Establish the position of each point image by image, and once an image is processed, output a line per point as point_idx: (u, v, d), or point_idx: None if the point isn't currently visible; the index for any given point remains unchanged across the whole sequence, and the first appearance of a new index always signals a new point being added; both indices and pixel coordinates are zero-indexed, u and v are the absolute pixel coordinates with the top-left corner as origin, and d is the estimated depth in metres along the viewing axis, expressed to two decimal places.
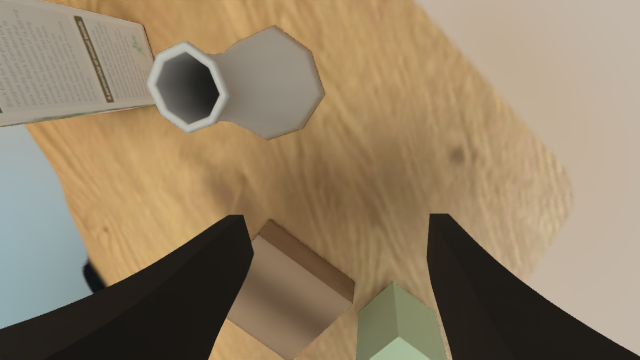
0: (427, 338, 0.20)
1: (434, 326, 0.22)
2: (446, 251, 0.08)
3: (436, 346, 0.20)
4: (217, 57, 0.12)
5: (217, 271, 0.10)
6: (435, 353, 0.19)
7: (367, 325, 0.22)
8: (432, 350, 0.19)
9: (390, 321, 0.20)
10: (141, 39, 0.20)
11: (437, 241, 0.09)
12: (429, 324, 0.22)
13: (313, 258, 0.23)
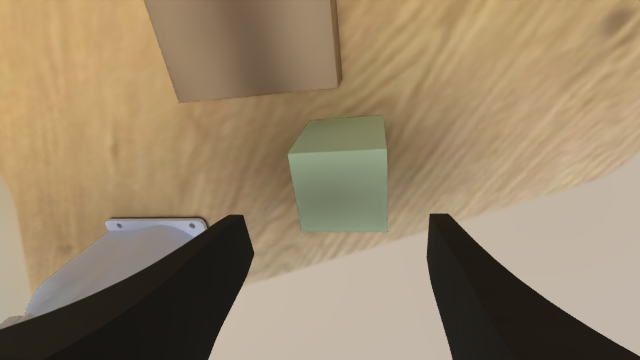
0: None
1: None
2: (446, 251, 0.08)
3: None
4: None
5: (217, 271, 0.10)
6: None
7: (323, 130, 0.16)
8: None
9: (371, 136, 0.14)
10: None
11: (437, 241, 0.09)
12: None
13: None
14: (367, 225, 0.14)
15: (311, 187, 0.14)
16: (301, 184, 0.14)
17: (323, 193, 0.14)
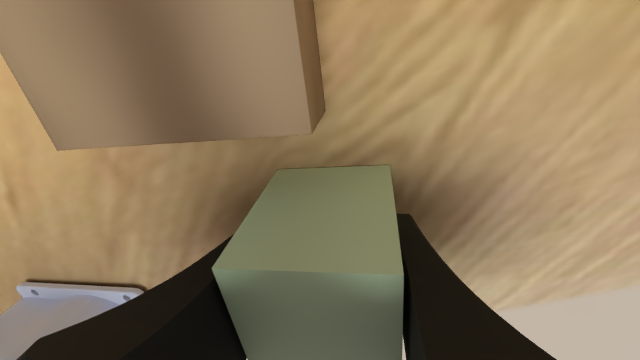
0: None
1: None
2: None
3: None
4: None
5: None
6: None
7: (291, 199, 0.09)
8: None
9: (372, 226, 0.08)
10: None
11: None
12: None
13: None
14: None
15: (261, 319, 0.08)
16: (243, 314, 0.08)
17: (284, 329, 0.08)
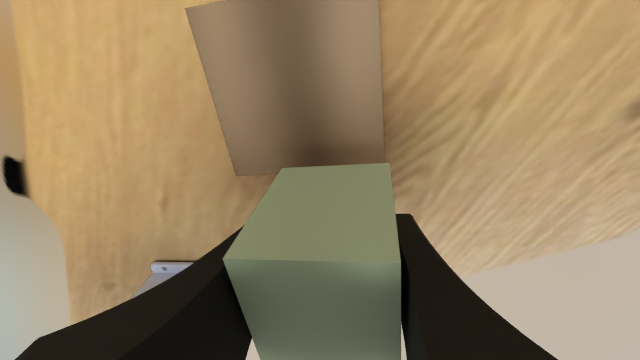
0: None
1: None
2: None
3: None
4: None
5: None
6: None
7: (295, 195, 0.10)
8: None
9: (372, 219, 0.08)
10: None
11: None
12: None
13: None
14: None
15: (269, 307, 0.08)
16: (252, 302, 0.08)
17: (290, 316, 0.08)
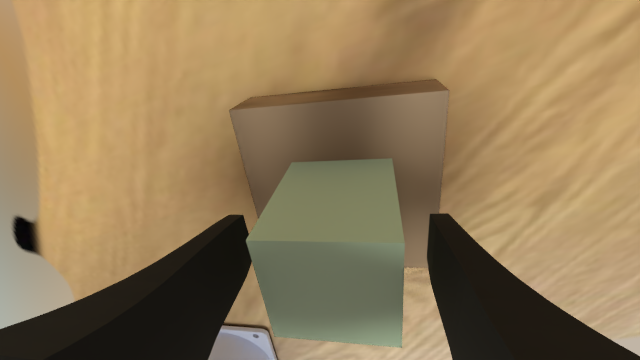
0: None
1: None
2: (446, 251, 0.08)
3: None
4: None
5: (217, 271, 0.10)
6: None
7: (307, 186, 0.11)
8: None
9: (378, 207, 0.09)
10: None
11: (437, 241, 0.09)
12: None
13: None
14: (370, 337, 0.10)
15: (284, 285, 0.09)
16: (270, 280, 0.09)
17: (303, 293, 0.09)
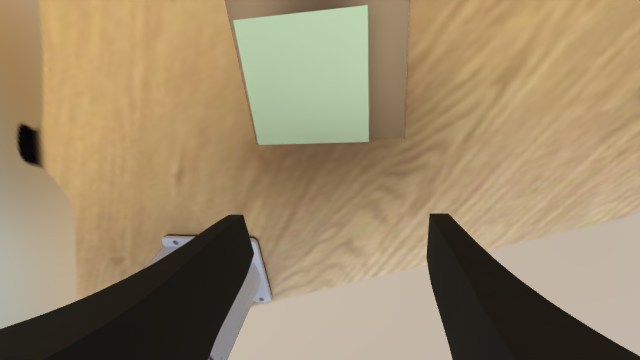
0: None
1: None
2: (446, 251, 0.08)
3: None
4: None
5: (217, 271, 0.10)
6: None
7: None
8: None
9: None
10: None
11: (437, 241, 0.09)
12: None
13: None
14: (341, 132, 0.11)
15: (267, 74, 0.10)
16: (254, 70, 0.10)
17: (283, 83, 0.10)
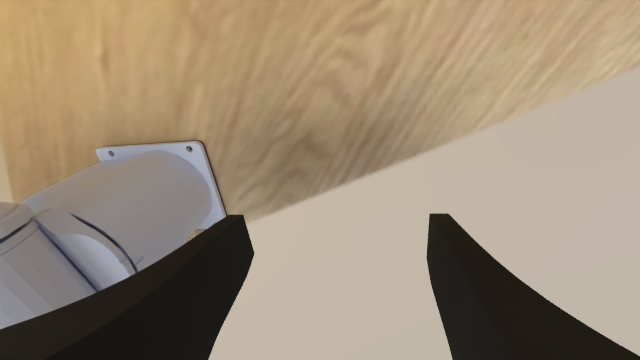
0: None
1: None
2: (446, 251, 0.08)
3: None
4: None
5: (217, 271, 0.10)
6: None
7: None
8: None
9: None
10: None
11: (437, 241, 0.09)
12: None
13: None
14: None
15: None
16: None
17: None
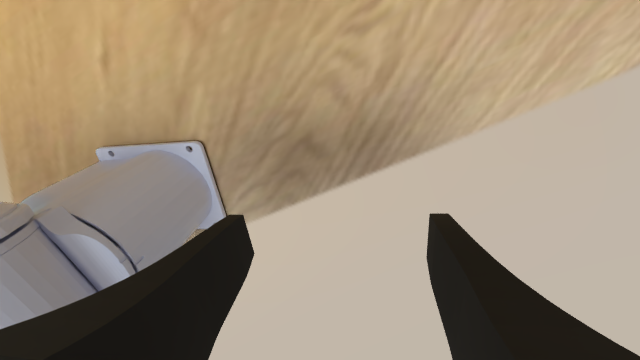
0: None
1: None
2: (446, 251, 0.08)
3: None
4: None
5: (217, 271, 0.10)
6: None
7: None
8: None
9: None
10: None
11: (437, 241, 0.09)
12: None
13: None
14: None
15: None
16: None
17: None
